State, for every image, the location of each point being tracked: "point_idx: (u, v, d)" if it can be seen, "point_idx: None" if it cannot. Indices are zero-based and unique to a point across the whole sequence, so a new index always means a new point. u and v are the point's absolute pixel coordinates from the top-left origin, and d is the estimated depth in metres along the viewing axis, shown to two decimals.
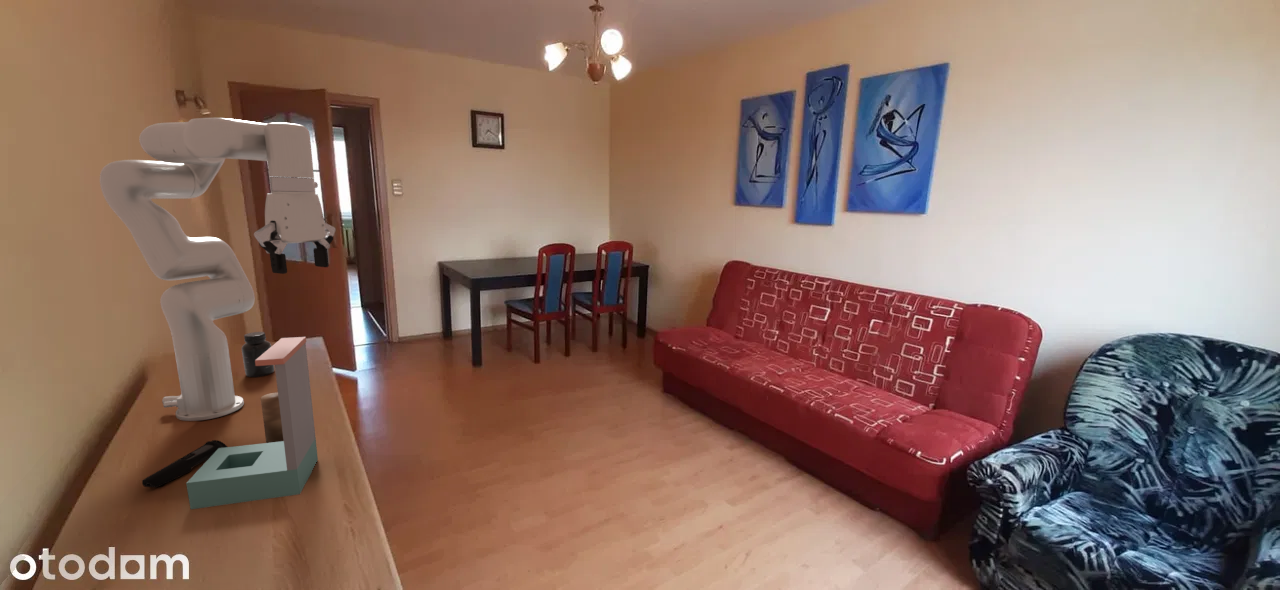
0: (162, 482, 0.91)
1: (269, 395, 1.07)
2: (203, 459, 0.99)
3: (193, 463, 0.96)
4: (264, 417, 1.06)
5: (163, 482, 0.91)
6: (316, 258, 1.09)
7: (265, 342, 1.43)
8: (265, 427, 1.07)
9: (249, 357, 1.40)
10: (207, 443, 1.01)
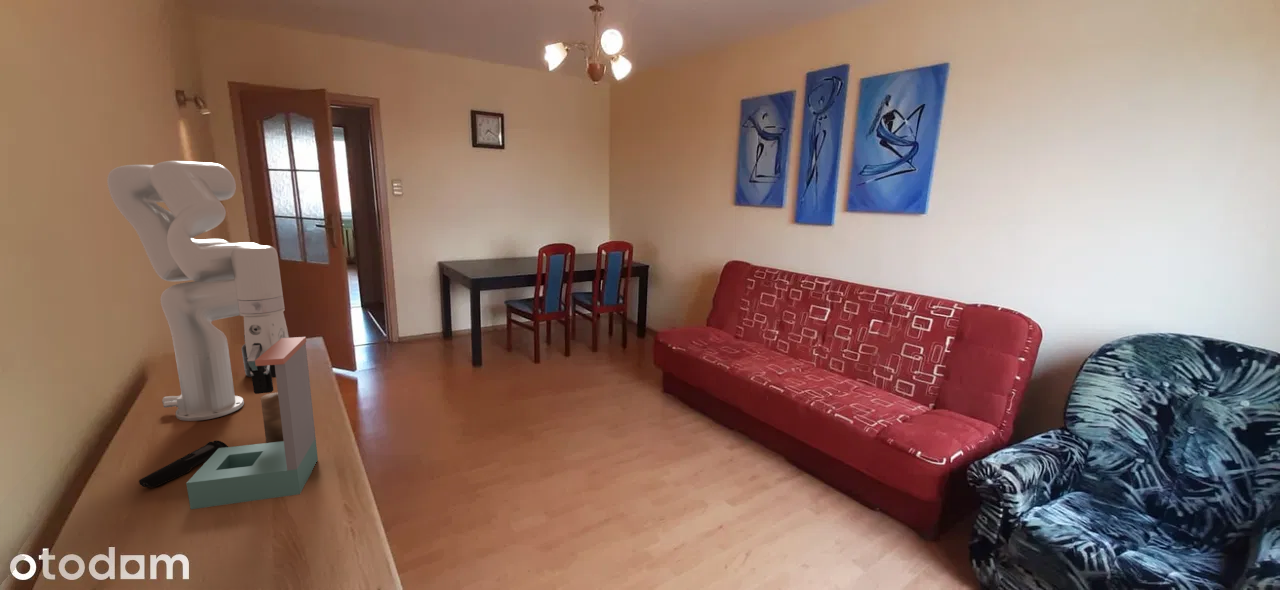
0: (159, 482, 0.91)
1: (269, 395, 1.07)
2: (203, 459, 0.99)
3: (192, 463, 0.96)
4: (264, 417, 1.06)
5: (160, 482, 0.91)
6: None
7: None
8: (265, 427, 1.07)
9: None
10: (208, 443, 1.01)
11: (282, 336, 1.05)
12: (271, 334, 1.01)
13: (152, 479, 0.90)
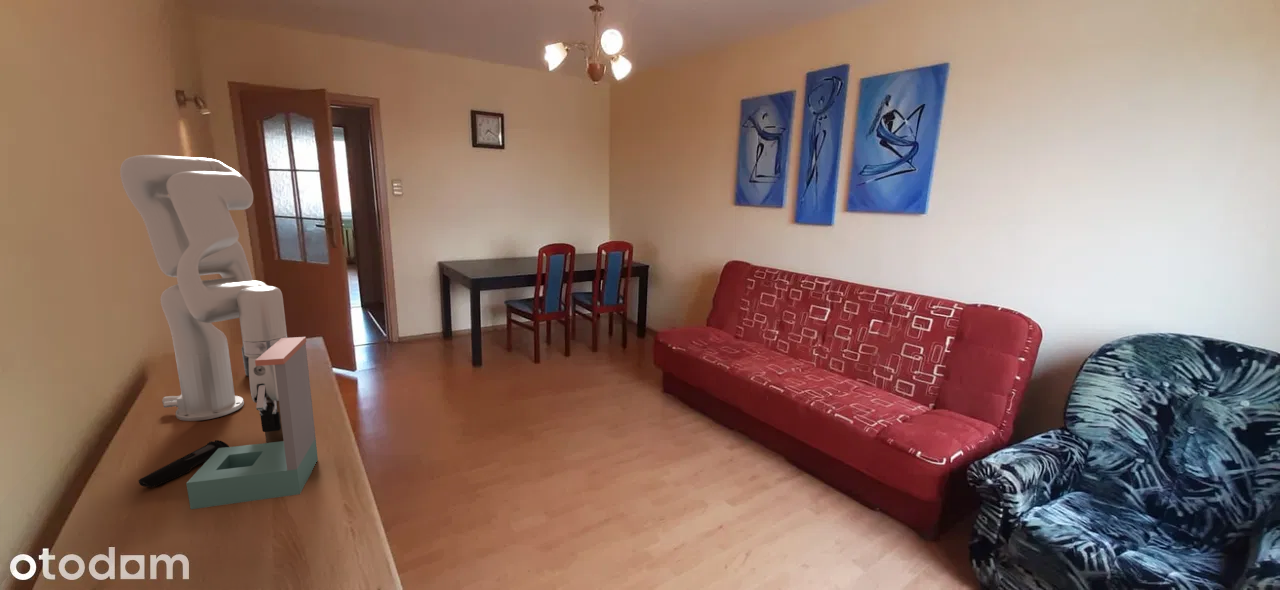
0: (158, 482, 0.90)
1: None
2: (203, 459, 0.99)
3: (192, 463, 0.96)
4: None
5: (159, 482, 0.91)
6: None
7: None
8: None
9: None
10: (209, 443, 1.01)
11: None
12: (275, 374, 1.03)
13: (151, 479, 0.90)
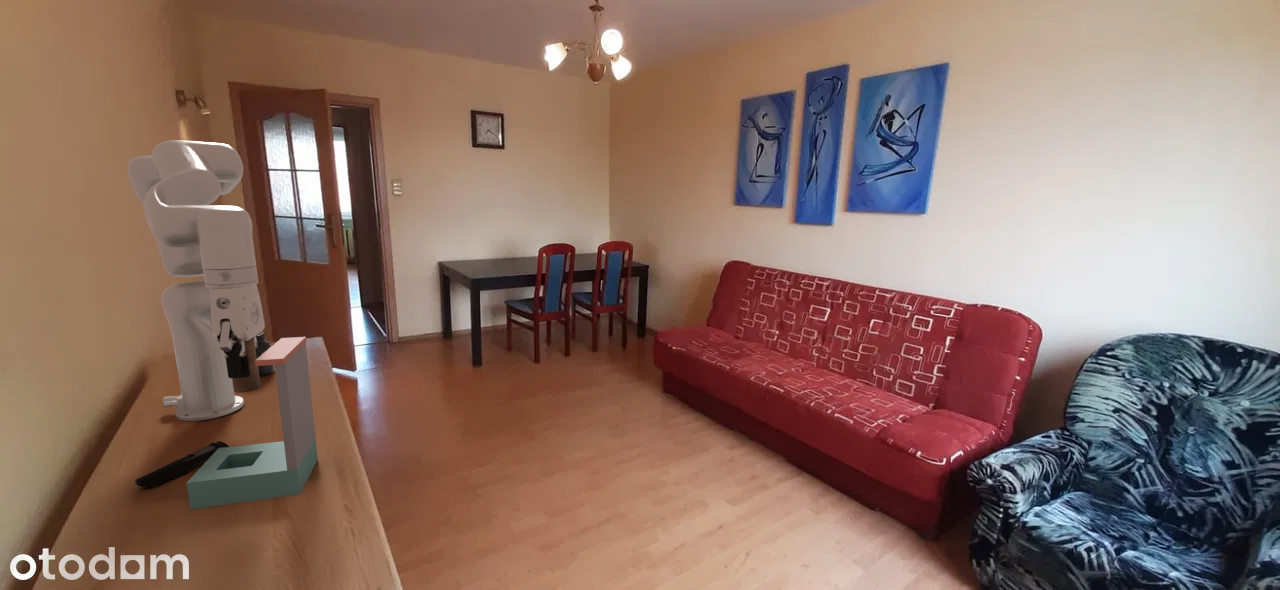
0: (154, 483, 0.90)
1: None
2: (203, 461, 0.98)
3: (191, 464, 0.96)
4: None
5: (156, 483, 0.91)
6: None
7: (265, 342, 1.43)
8: None
9: None
10: (211, 444, 1.01)
11: (255, 312, 0.93)
12: (242, 308, 0.88)
13: (148, 480, 0.90)
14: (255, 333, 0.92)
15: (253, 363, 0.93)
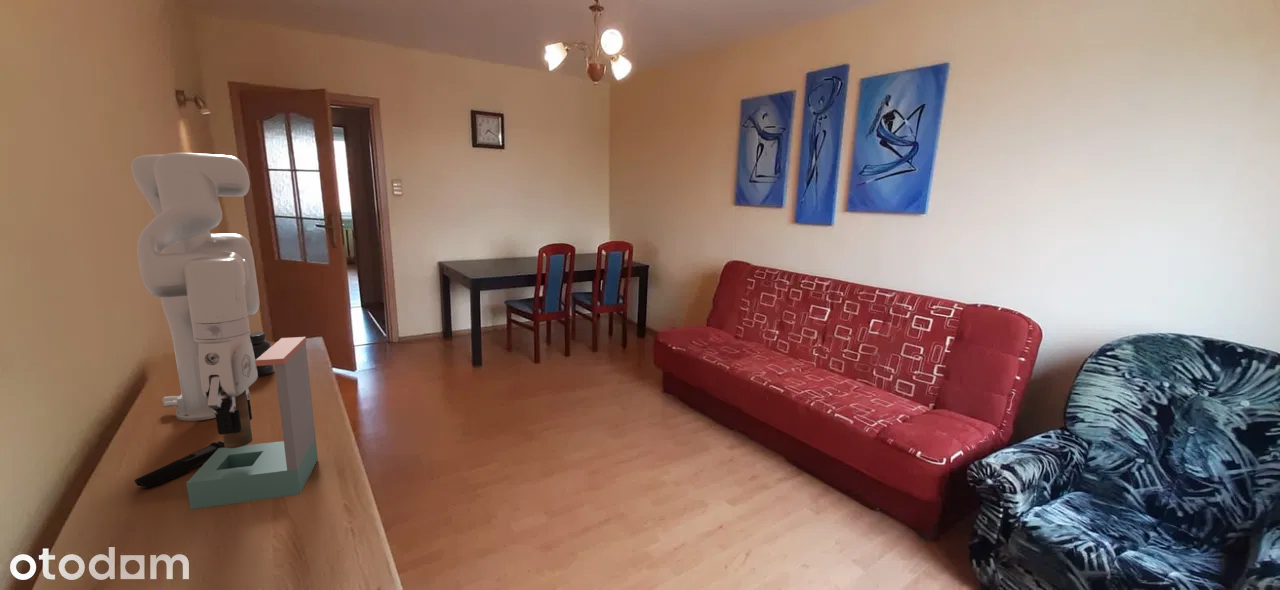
0: (154, 483, 0.90)
1: None
2: (203, 461, 0.98)
3: (191, 465, 0.96)
4: None
5: (155, 483, 0.90)
6: None
7: (265, 342, 1.43)
8: None
9: None
10: (212, 444, 1.01)
11: (247, 364, 0.89)
12: (232, 363, 0.84)
13: (147, 479, 0.90)
14: (246, 386, 0.88)
15: (244, 417, 0.89)
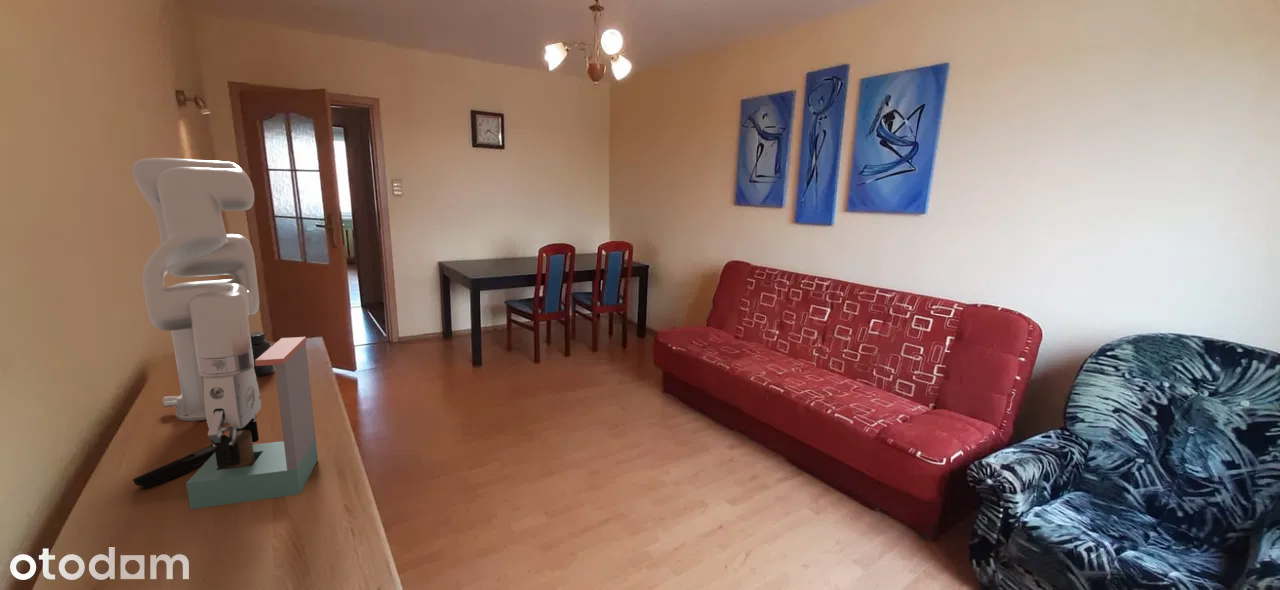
0: (152, 483, 0.90)
1: None
2: (203, 461, 0.98)
3: (190, 465, 0.96)
4: None
5: (153, 483, 0.90)
6: None
7: (265, 342, 1.43)
8: None
9: None
10: (212, 444, 1.01)
11: (251, 396, 0.90)
12: (237, 397, 0.85)
13: (145, 479, 0.90)
14: (250, 418, 0.90)
15: (250, 460, 0.91)
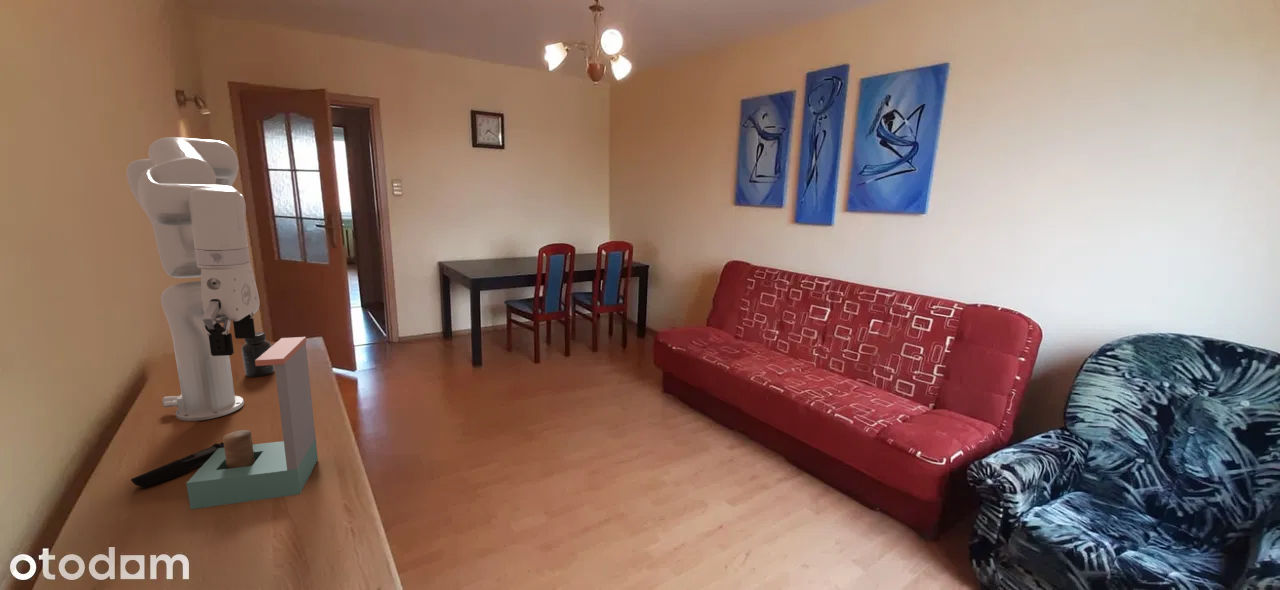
0: (150, 483, 0.90)
1: (234, 434, 0.91)
2: (203, 462, 0.98)
3: (189, 466, 0.95)
4: (227, 460, 0.89)
5: (151, 483, 0.90)
6: None
7: (265, 342, 1.43)
8: None
9: (249, 357, 1.40)
10: (214, 445, 1.01)
11: (246, 293, 0.94)
12: (232, 290, 0.89)
13: (143, 479, 0.90)
14: (246, 314, 0.93)
15: (250, 460, 0.91)
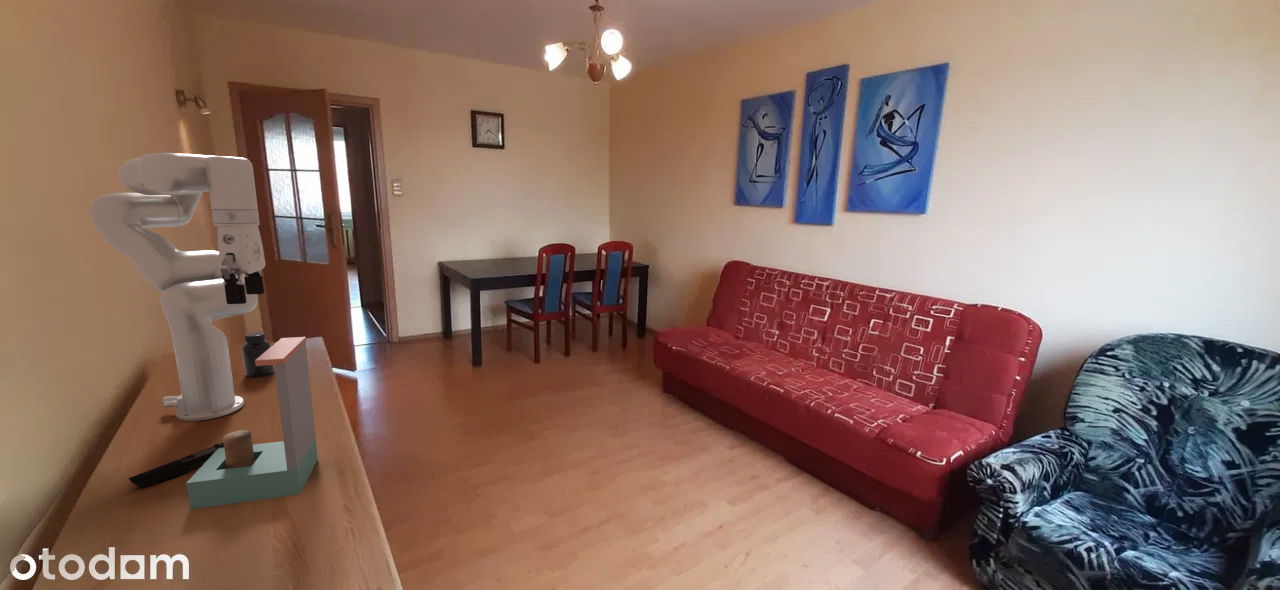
0: (147, 483, 0.90)
1: (233, 434, 0.91)
2: (202, 462, 0.98)
3: (188, 466, 0.95)
4: (227, 460, 0.89)
5: (148, 483, 0.90)
6: None
7: (265, 342, 1.43)
8: None
9: (249, 357, 1.40)
10: (214, 445, 1.01)
11: (256, 250, 1.06)
12: (245, 245, 1.01)
13: (140, 479, 0.90)
14: (256, 268, 1.06)
15: (250, 460, 0.91)
